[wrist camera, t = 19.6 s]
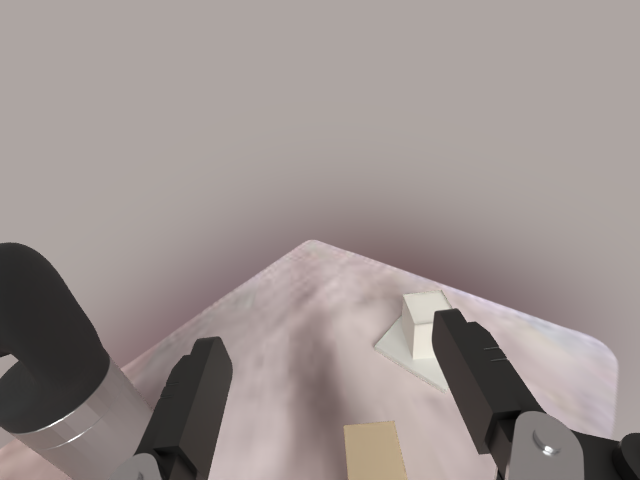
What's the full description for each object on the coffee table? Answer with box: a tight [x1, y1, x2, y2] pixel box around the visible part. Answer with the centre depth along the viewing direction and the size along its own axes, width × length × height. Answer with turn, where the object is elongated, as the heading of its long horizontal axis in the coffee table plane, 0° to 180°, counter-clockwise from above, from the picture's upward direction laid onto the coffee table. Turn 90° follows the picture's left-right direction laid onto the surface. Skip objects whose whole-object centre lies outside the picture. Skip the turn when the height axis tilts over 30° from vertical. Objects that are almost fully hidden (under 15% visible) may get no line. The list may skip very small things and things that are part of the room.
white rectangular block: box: [402, 290, 452, 359], centre depth 46 cm, size 6×6×8 cm
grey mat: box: [375, 315, 449, 394], centre depth 48 cm, size 12×12×1 cm
